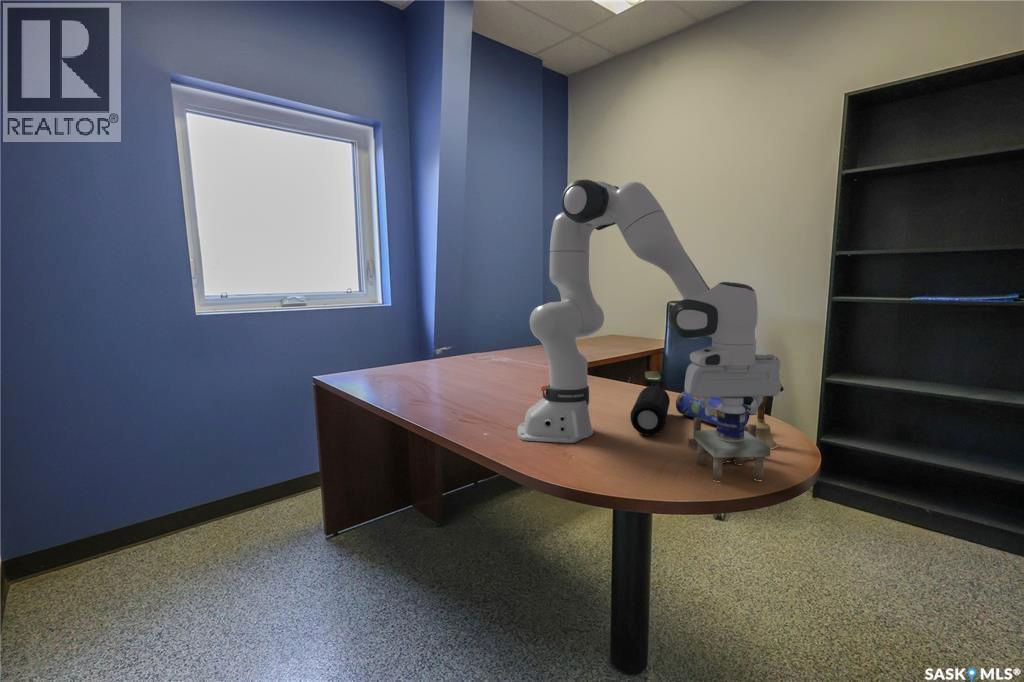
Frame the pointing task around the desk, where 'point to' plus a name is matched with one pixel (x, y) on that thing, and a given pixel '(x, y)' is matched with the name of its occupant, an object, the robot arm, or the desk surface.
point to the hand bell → (763, 426)
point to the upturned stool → (694, 445)
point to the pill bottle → (731, 419)
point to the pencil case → (700, 407)
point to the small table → (730, 451)
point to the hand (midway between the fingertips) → (730, 414)
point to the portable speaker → (650, 410)
